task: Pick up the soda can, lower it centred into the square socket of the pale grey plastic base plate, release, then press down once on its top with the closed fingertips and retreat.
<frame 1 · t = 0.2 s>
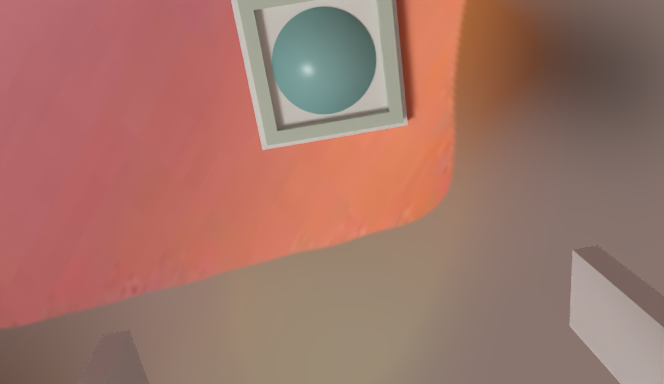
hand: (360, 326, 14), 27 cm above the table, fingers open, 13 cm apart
base plate: (323, 61, 38), on the table
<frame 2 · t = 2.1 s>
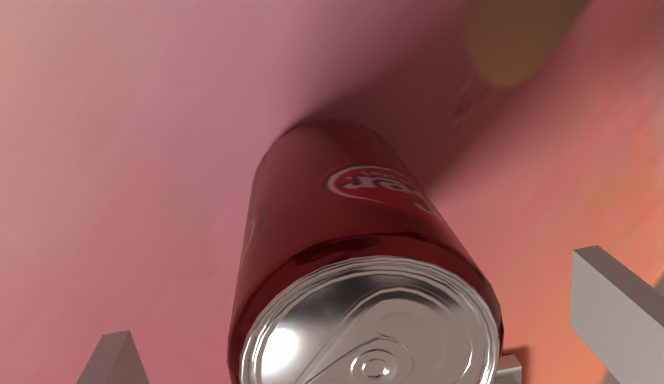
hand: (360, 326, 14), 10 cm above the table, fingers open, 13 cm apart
soda can: (329, 189, 23), on the table
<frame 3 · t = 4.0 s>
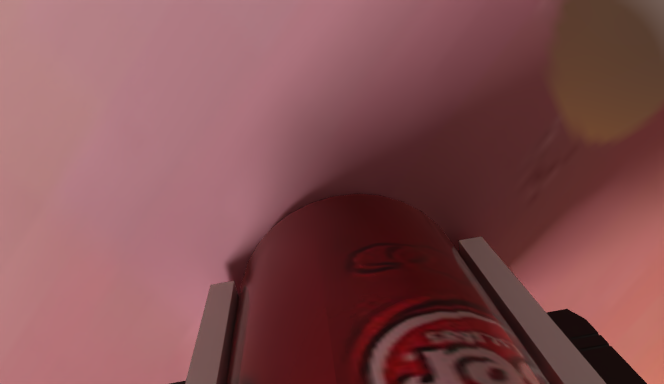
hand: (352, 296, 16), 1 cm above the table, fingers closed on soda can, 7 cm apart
soda can: (349, 283, 17), on the table, touching gripper
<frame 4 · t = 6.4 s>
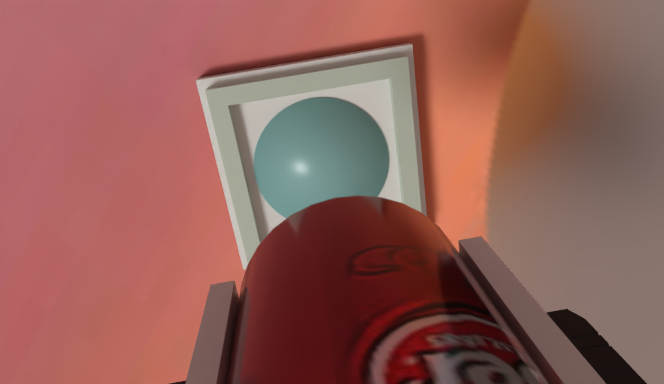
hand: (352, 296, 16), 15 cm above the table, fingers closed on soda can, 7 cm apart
soda can: (350, 284, 17), point 14 cm above the table, touching gripper
base plate: (320, 159, 30), on the table
when the fingers open (3 cm above the table, at t = 9.3 s): soda can drops 1 cm, resting on base plate.
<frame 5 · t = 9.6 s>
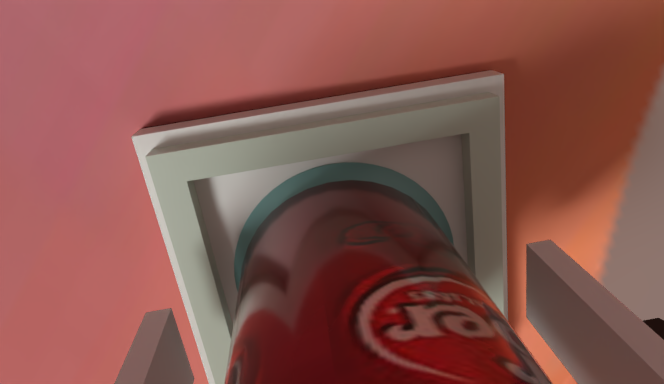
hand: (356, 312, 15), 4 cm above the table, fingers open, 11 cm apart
soda can: (344, 265, 18), point 1 cm above the table, touching base plate
base plate: (342, 254, 19), on the table
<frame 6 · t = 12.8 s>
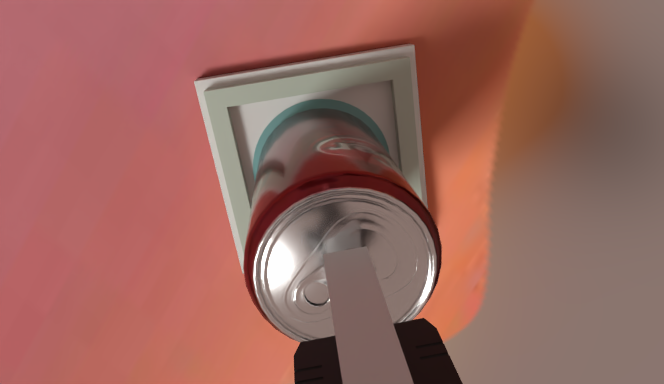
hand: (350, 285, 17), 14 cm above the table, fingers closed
soda can: (321, 166, 28), point 1 cm above the table, touching base plate
base plate: (321, 162, 29), on the table
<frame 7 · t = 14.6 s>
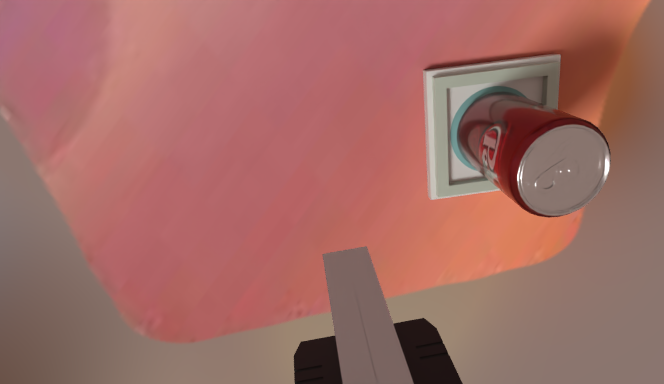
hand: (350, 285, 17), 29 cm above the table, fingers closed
soda can: (492, 129, 44), point 1 cm above the table, touching base plate
base plate: (488, 127, 45), on the table
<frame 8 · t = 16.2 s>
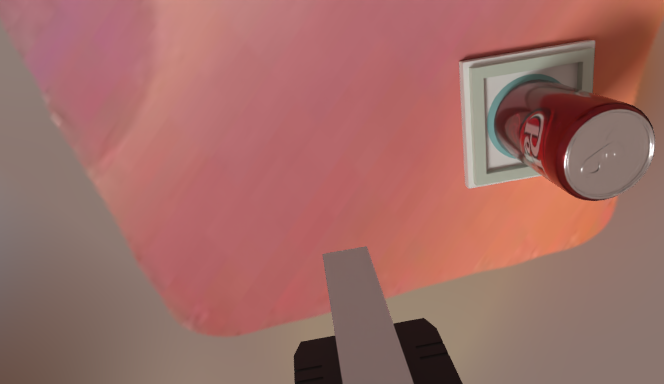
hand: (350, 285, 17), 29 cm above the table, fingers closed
soda can: (528, 117, 45), point 1 cm above the table, touching base plate
base plate: (524, 115, 46), on the table
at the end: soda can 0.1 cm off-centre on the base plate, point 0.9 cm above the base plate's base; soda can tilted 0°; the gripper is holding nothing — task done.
